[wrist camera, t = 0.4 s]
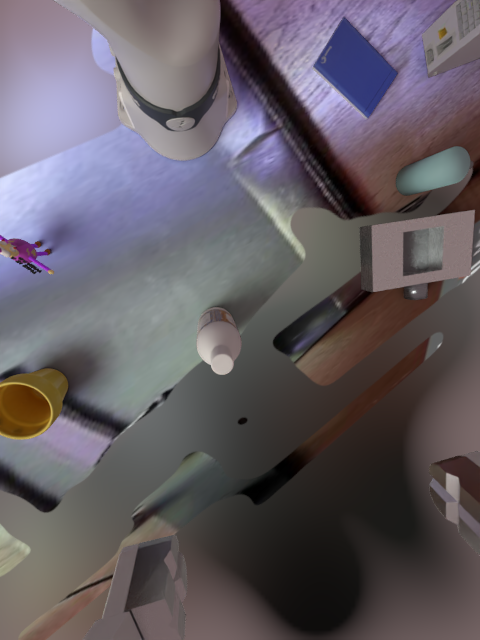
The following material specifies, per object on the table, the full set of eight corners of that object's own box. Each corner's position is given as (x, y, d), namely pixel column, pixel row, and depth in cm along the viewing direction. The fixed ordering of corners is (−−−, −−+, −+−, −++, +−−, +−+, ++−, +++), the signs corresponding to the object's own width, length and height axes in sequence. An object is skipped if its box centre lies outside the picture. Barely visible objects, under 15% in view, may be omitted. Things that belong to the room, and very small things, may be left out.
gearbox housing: (359, 227, 54) (372, 225, 50) (456, 212, 55) (475, 209, 51) (362, 303, 58) (374, 307, 54) (452, 287, 59) (470, 290, 55)
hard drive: (314, 64, 45) (369, 117, 48) (344, 15, 44) (399, 71, 47) (310, 70, 47) (364, 121, 50) (339, 22, 46) (392, 77, 49)
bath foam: (240, 329, 56) (259, 371, 37) (210, 347, 56) (213, 399, 37) (222, 299, 54) (232, 328, 35) (191, 318, 54) (184, 357, 35)
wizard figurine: (77, 264, 49) (38, 268, 38) (66, 278, 50) (25, 287, 38) (14, 220, 46) (-48, 211, 35) (4, 236, 47) (-61, 232, 35)
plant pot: (53, 347, 52) (20, 369, 43) (90, 389, 55) (67, 418, 46) (7, 377, 52) (-36, 405, 43) (46, 417, 55) (14, 451, 46)
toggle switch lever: (395, 167, 52) (439, 148, 42) (430, 162, 52) (480, 143, 43) (395, 197, 53) (438, 185, 44) (429, 192, 54) (478, 180, 44)
